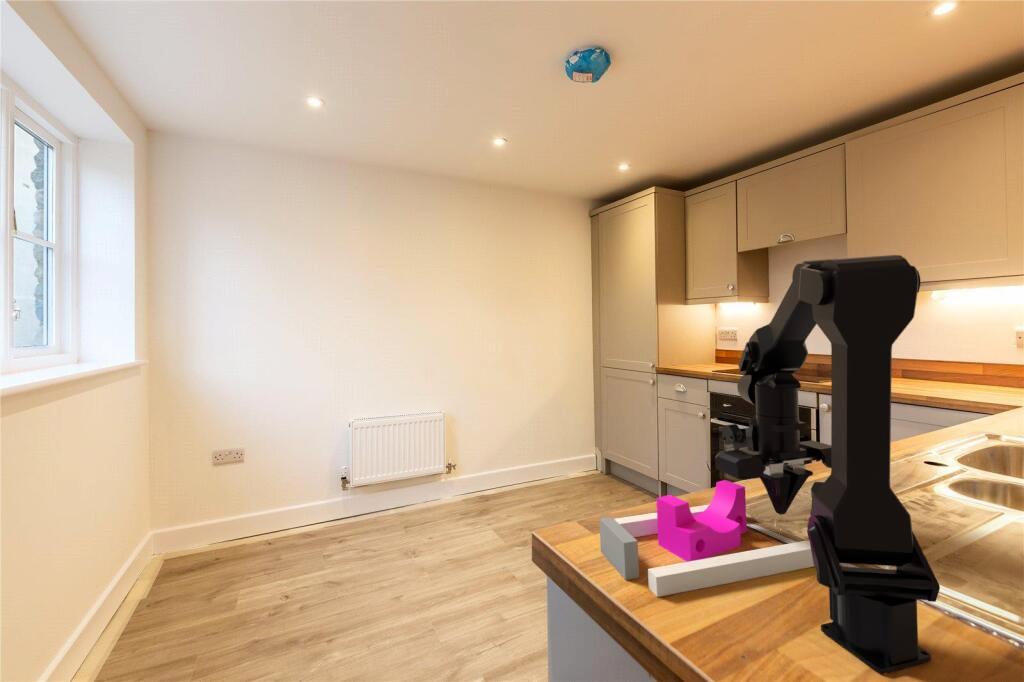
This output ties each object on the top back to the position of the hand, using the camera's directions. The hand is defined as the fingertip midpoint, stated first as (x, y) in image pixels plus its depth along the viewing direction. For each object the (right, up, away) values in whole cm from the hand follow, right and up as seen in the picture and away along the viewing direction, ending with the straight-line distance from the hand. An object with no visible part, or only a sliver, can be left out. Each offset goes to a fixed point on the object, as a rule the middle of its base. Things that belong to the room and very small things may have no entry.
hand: (780, 513), depth 69 cm
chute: (-14, -4, -3) cm, 15 cm away
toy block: (-11, -5, -1) cm, 12 cm away
